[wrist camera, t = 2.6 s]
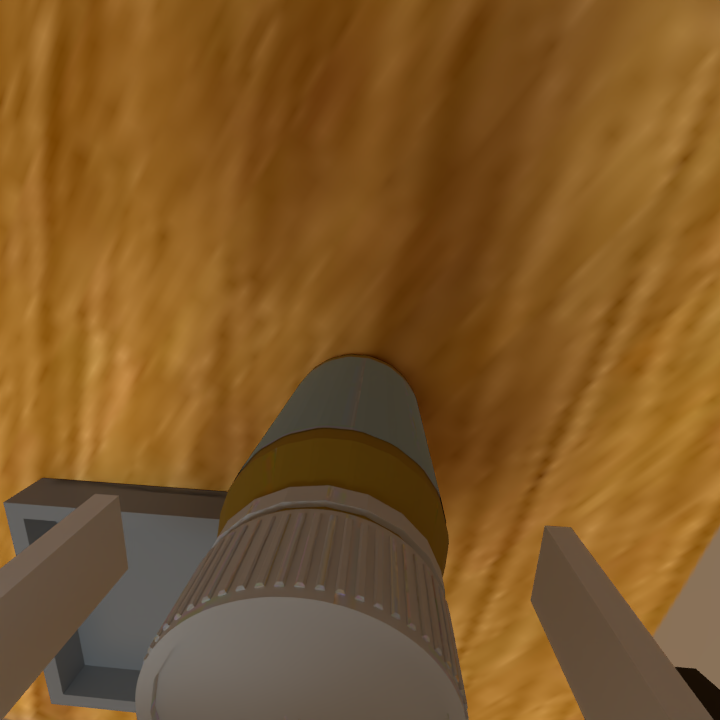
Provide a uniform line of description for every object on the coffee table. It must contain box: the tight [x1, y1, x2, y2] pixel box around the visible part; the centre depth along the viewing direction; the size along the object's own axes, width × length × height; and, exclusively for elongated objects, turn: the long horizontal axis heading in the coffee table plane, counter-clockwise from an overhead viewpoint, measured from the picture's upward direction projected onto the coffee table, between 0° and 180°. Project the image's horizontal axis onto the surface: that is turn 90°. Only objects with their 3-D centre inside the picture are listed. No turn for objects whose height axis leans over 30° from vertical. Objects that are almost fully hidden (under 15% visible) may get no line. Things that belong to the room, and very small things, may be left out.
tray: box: [3, 478, 228, 712], centre depth 24 cm, size 16×16×2 cm
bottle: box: [135, 355, 468, 720], centre depth 14 cm, size 7×7×15 cm
